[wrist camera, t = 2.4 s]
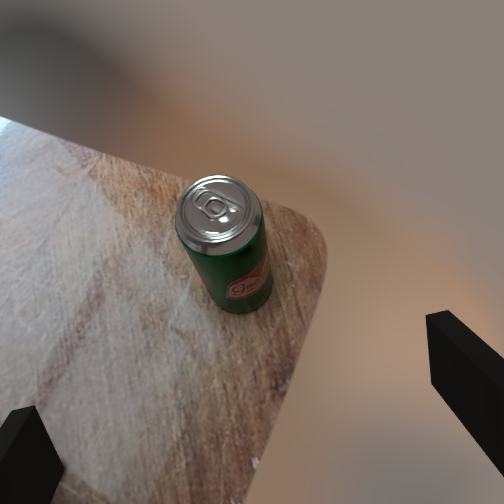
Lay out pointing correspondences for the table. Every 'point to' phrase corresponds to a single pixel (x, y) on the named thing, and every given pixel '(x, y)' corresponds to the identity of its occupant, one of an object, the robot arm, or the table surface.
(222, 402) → the table surface
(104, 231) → the table surface
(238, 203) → the soda can
